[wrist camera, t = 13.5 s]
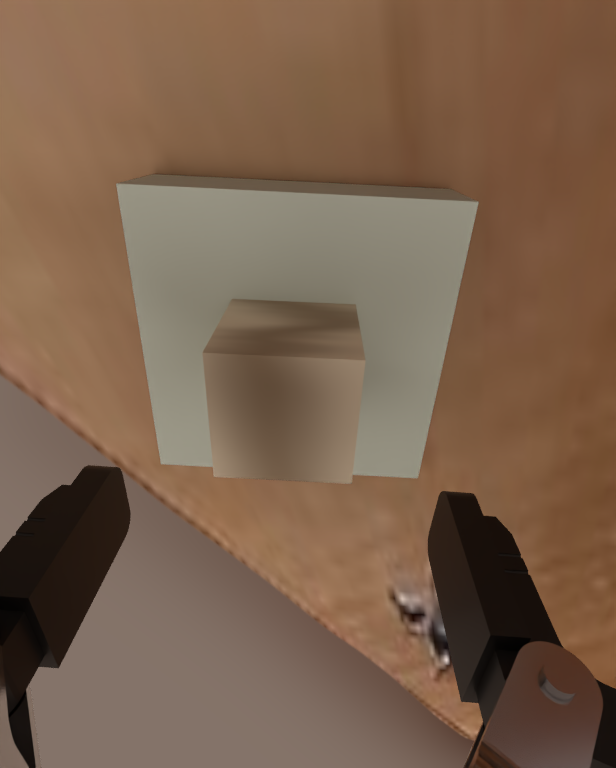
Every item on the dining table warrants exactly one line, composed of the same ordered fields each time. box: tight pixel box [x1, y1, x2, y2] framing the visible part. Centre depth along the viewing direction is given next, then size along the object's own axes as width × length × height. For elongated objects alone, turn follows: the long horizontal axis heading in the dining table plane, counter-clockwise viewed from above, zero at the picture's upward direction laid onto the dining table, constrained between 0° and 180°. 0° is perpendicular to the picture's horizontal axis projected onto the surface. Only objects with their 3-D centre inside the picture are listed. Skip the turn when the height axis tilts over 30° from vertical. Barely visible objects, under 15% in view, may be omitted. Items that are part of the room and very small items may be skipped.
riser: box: [116, 174, 479, 478], centre depth 21 cm, size 13×13×4 cm
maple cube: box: [202, 299, 366, 484], centre depth 17 cm, size 5×5×5 cm
